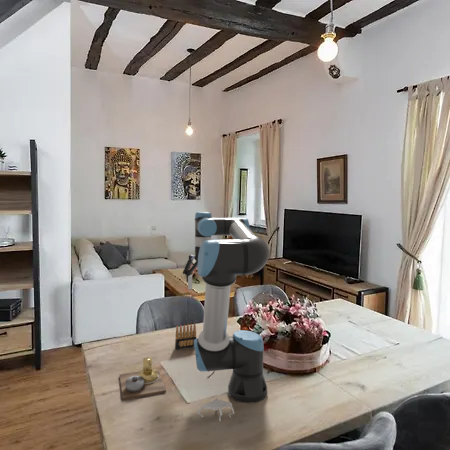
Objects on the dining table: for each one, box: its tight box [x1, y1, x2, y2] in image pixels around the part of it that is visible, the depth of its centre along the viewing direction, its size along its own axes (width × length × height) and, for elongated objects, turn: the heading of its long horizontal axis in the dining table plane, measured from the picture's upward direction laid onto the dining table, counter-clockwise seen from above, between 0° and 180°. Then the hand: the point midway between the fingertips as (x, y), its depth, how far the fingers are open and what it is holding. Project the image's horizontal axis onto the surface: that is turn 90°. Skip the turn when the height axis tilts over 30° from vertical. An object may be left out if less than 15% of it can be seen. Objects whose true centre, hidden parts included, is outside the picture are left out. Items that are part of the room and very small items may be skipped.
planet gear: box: [137, 356, 158, 383], centre depth 148 cm, size 8×8×8 cm
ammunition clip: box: [174, 322, 197, 351], centre depth 180 cm, size 11×2×12 cm, turn 110°
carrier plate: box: [119, 368, 167, 401], centre depth 145 cm, size 18×16×5 cm
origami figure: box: [196, 398, 235, 422], centre depth 125 cm, size 12×8×5 cm
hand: (202, 291), depth 168 cm, fingers open, 13 cm apart
